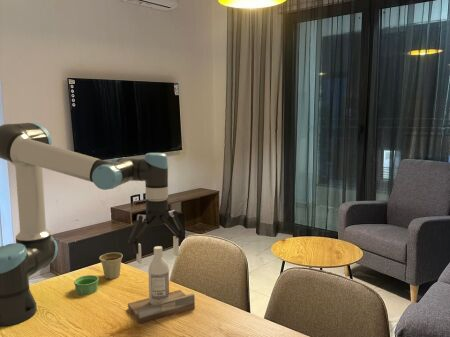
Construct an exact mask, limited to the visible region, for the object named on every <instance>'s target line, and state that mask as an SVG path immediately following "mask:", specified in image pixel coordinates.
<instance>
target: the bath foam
mask: <svg viewBox="0 0 450 337" xmlns="http://www.w3.org/2000/svg"><path fill="white" fill-rule="evenodd" d="M169 270H170V269H169V266H168V263H167V261H166V260H165V258H163V246H161V245H160V246H159V245H157V246H154V247H153V258H152V260H151V262H150V263H149V265H148V270H147V271H148V295H149V297H148V298H149V301H150V304H151V305H152V304H156V303H160V302H163V301H167V300H169V293H170V276H169V275H170V273H169V272H170V271H169Z"/></svg>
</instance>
